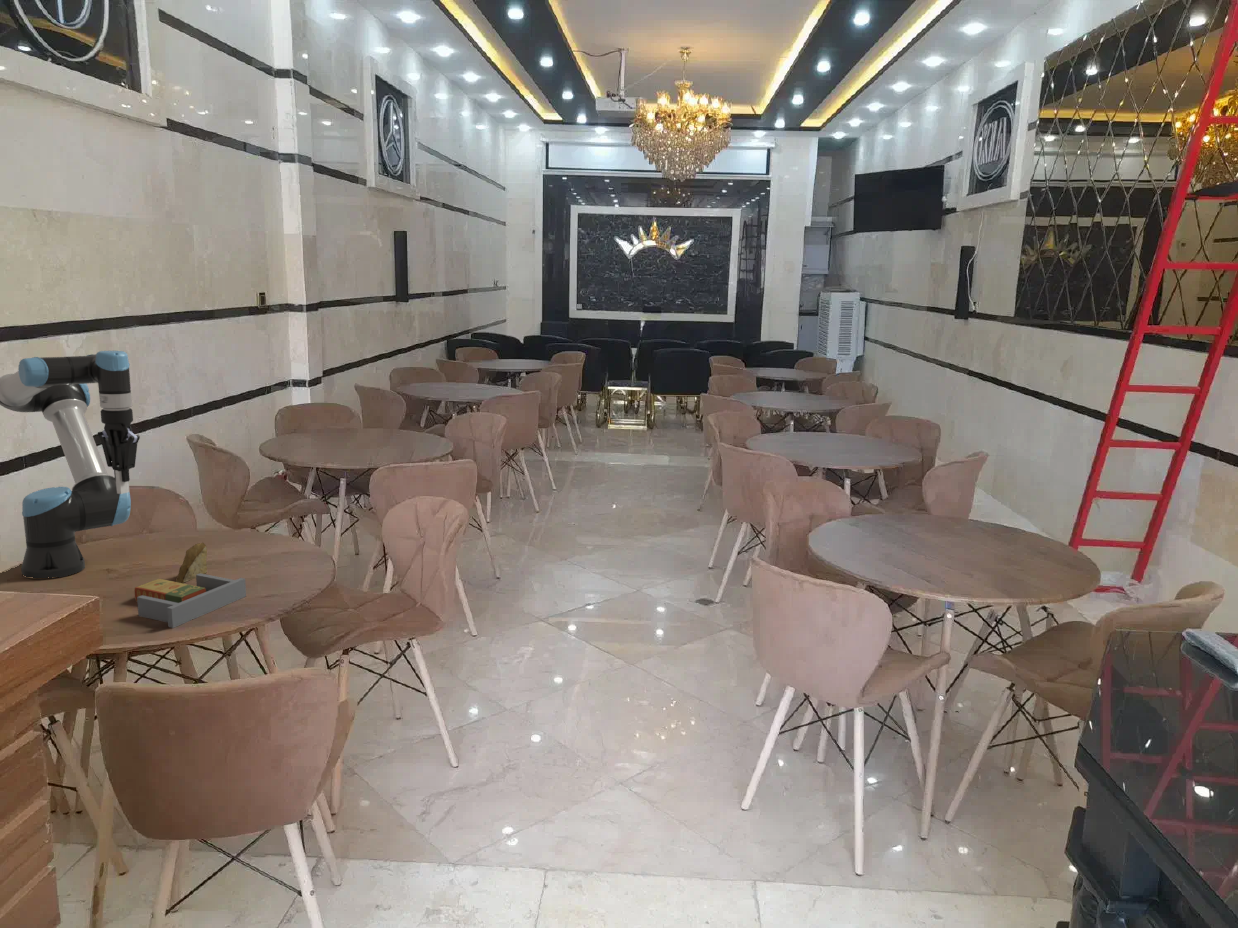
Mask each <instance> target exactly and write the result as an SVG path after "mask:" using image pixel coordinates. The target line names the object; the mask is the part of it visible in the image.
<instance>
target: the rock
mask: <svg viewBox="0 0 1238 928" xmlns="http://www.w3.org/2000/svg"><path fill="white" fill-rule="evenodd" d="M207 557H208V548H207V545H206V543H204V542H201V543H198V542H197V543H195V544H193V545H192V546H191V547H190V548H188V549H186V550H185V556H184V558H183V562H182V564H181V565H180V567H179V569H178V574H177V577H176V579H175V582H178V583H183V584H185V583H187V582H189V581H191V580H194V579H196V575H197V574H200V573H201V574H207V573H208V567H207V559H208V558H207Z"/></svg>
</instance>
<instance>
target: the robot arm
mask: <svg viewBox="0 0 1238 928" xmlns="http://www.w3.org/2000/svg"><path fill="white" fill-rule="evenodd" d="M130 365H131V364H130V361H129V355H128V353H127V352H125V351H124V350H123V351H122V350H99V351H97V352H96V354H92V353H91V354H86V355H77V356H76V355H75V356H73V355H72V356H49V357H42V356H41V357H38V356H34V357H26V358H22V359H20V361H19V364H18V370H17V371H16V372H14V373H7V374H4V375H2V376H0V406H1V407H3V408H5V409H7V410H10V411H13V412H18V413H39V412H40V413H42V415H43V418H44V419H45V420H47V421H48V422H52V425H53V427H54V430H55V433H56V436H57V438H58V441H59V443H60V446H61V448H62V451H63V454H64V457H65V459H66V462H67V465H68V468H69V470H70V473H71V476H72V478H73V481H74V483H75V484H73V486H72V488H70V487H67V486H56V487H47V488H43V489H39V490H36V491H33V492H30V493H29V494H27V495H26V496H25V497H23V499H22V503H21V504H22V505H21V506H22V508H21V509H22V512H21V515H22V516H23V518H22V519H23V526H24V527H23V528H24V535H25V545H26V549H25V552H24V555H23V556H24V557H23V561H22V564H21V566H20V567H21V569H20V570H21V575H22V574H23V575H24V576H26V577H33V578H48V577H49V578H52V577H59V578H64V577H69V576H72V575H75V574H78V573H80V572H83V570H84V569H85V568H86V563H85V558H84V556H83V554H82V552H81V550H80V549H79V546H78V544H77V542H76V532H83V531H88V530H93V529H101V528H105V527H106V528H107V527H113V526H115V525H121V524H124V523H125V522H127V521H128V519H129V517H130V514H131V508H132V507H131V506H132V505H131V504H132V501H131V493H130V480H131V479H130V470H131V469H133V468H135V467H136V459H137V450H138V443H139V442H140V441H139V440H140V439H141V436H140V434H135V433H133V428H132V426H131V423H132V422H134V414H133V409H132V408H131V407H132V406H133V399H132V398H133V397H132V390H131V377H130V376H131V375H130ZM88 384H97V387H98V395H99V407H100V408H101V410H100V421H101V423H102V424H104V426H103V430H102V431H99V432H97V436H98V438H99V440H100V443H101V447H102V450H103V454H104V457H105V462H106V465H107V467H108V468H109V467H110V468H112V470H113V474H114V475H111V474H109V473H108V472H107V470H106V466H105V464H104V462H103V459H102V457H101V454H100V451H99V449H98V447H97V444H96V441H95V439H94V436H93V433H92V431H91V428H90V426H89V424H88V420H87V418H86V416H85V414H86V412H87V410H88V408H89V406H90V404H91V394H90V392H89V391H90V390H89V389H90V388H89V386H88ZM77 572H78V573H77ZM74 573H75V574H74ZM71 574H72V575H71ZM68 575H69V576H68ZM52 579H53V578H52Z"/></svg>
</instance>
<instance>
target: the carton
mask: <svg viewBox="0 0 1238 928" xmlns="http://www.w3.org/2000/svg"><path fill="white" fill-rule="evenodd" d="M205 592H206V589H205V588H204V587H199V586H197V585H193V584H187V583H180V582H176V581H172V580H167V579H163V578H157V579H154V580H151V581H149V582H145V583H143V584H140V585H138V586H136V587H134V600H135V601H136V602H137V597H139V596H142V595H143V596H148V597H153V598H157V599H162V600H167V601H172V602H176V603H180V602H182V601H185V600H187V599H190V598H192V597H195V596H197V595H200V594H202V593H205Z"/></svg>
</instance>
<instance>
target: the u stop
mask: <svg viewBox="0 0 1238 928" xmlns="http://www.w3.org/2000/svg"><path fill="white" fill-rule="evenodd" d="M195 580H196V581H195V582H196V586H199V587H204V588H205V589H206V592H205V593H202V594H200V595H197V596H195V597H192V598H190V599H187V600H185V601H182V602H180V603H176V602H172V601H167V600H162V599H157V598H153V597H148V596H143V595H142V596H139V597H137V601H136V602H137V613H138V617H142V618H146V619H150V620H156V621H159V622H164V623H167V626H168V628H172V629H174V628H176V627H178V626H181V625H183V624H186V623H188V622H191V621H192V619H193V620H195V619H197V618H199V617H202V616H204V615H207V614H209V613H211V612H213V611H216V610H218V609H220V608H222V607H225V606H227V605H230V604H231V603H234V602H236V601H239V600H241V599H243V598H245V597H247V588H246V587H247V586H246V578H243V577H240V578H236V579H231V578H227V577H220V576H216V575H210V574H207V573H205V574H201V573H200V574H197V575H196V578H195Z"/></svg>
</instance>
